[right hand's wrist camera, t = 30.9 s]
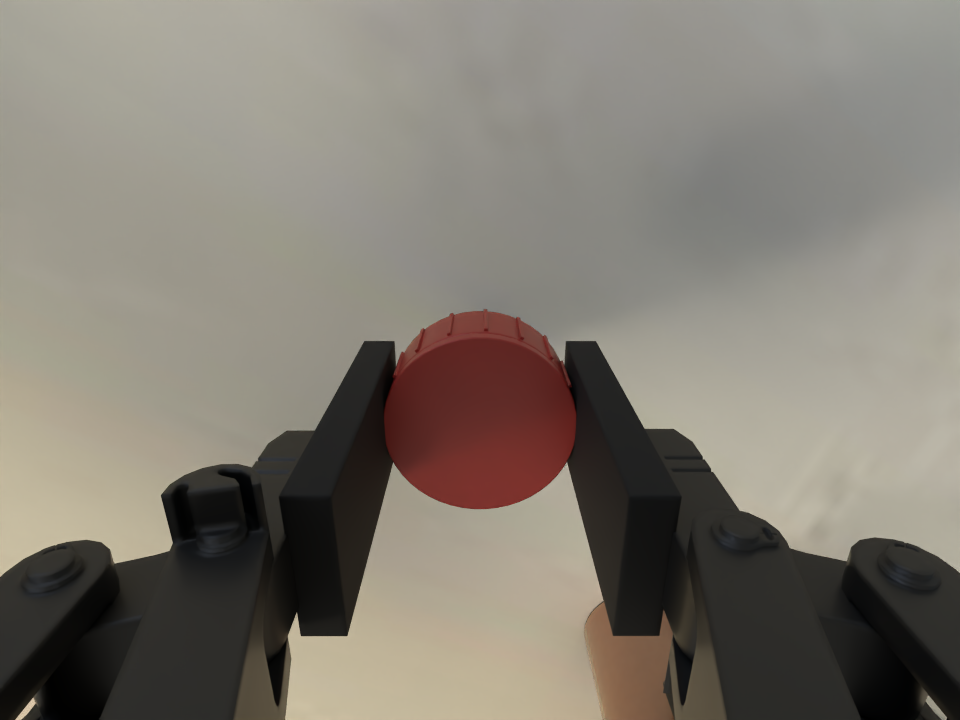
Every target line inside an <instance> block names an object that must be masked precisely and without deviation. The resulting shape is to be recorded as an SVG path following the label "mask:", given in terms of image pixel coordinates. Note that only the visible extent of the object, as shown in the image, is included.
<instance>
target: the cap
mask: <svg viewBox="0 0 960 720" xmlns="http://www.w3.org/2000/svg"><path fill="white" fill-rule="evenodd" d="M393 378H394V379H393V382H392V385H391V388H390V390H389V393H388V396H387V399H386V403H385V407H384V425H385V439H386V447H387V449H388V452H389V454H390V457H391V458H392V460H393V462H394V464H395V466H396V467H397V468H398V470H399V471H400V472H401V474H402V475H403V476H404V477H405V478H406V479H407V480H408V481H409V482H410V483H411V484H412V485H413V486H415V487H416V488H417V489H418V490H420V491H421V492H423V493H424V494H426V495H428V496H429V497H431V498H433V499H436V500H438V501H440V502H443V503H446V504H449V505H452V506H457V507H461V508H469V509H491V508H499V507H503V506H508V505H511V504H514V503H517V502H520V501H522V500H524V499H527V498H529V497H531V496H532V495H534V494H536V493H537V492H539V491H540V490H542V489H543V488H544V487H545V486H547V485H548V484H549V483H550V482H551V481H552V480H553V479H554V478H555V477H556V476H557V475H558V474H559V472H560V471H561V470H562V468H563V467H564V466H565V464H566V462H567V460H568V458H569V457H570V454H571V452H572V449H573V446H574V442H575V431H576V413H577V412H576V407H575V403H574V399H573V396H572V393H571V391H570V388H571V387H572V385H571V383H570V380H569V377H568V374H567V372H566V369H565V366H564V363H563V361H560V360H559V358H558V356H557V354H556V352H555V351H554V349H553V348H552V346H551V345H550V344H549V342H548V339H547V337H546V336H545V335H544V336H542V335H541V334H540V333H539V332H538V331H536V330H535V329H534V328H532V327H531V326H530V325H528V324H526V323H524V322H523V321H521V320H520V318H519V317H517V318H514V317H511V316H508V315H504V314H501V313H496V312H488V311H487V309H484V311H472V312H464V313H459V314H456V315H454V314H453V313H451V314H450V316H449V317H446V318H444V319H441V320H439V321H437V322H436V323H434V324H432V325H430V326H429V327H428V328H426V329H424V328H423V329H421V331H420V334H419V335H418V336H417V337H416V338H415V339H414V340H413V341H412V342H411V344H410V345H409V346H408V348H407V349H406V351H405V352H402V353H401V355H400V357H399V360H398V363H397V366H396V368H395V371H394V374H393Z"/></svg>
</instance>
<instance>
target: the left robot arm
mask: <svg viewBox="0 0 960 720" xmlns="http://www.w3.org/2000/svg"><path fill="white" fill-rule="evenodd" d="M664 683H665V681H664V682H663V687H664ZM666 696H667V699H668V702H669V705H670V708H671V711H672V714H673V717H674V720H675V713H674V703H673V694H672V688H671V693H670V694H666Z"/></svg>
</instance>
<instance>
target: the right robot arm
mask: <svg viewBox="0 0 960 720" xmlns="http://www.w3.org/2000/svg"><path fill="white" fill-rule="evenodd" d="M395 368H396V360H395V343H394V341H364V343H363V345H362V347H361V348H360V350H359V352H358V354H357V356H356V358H355V359H354V361H353V363H352V365H351V367H350V368H349V370H348V372H347V374H346V376H345V377H344V379H343V381H342V383H341V385H340V386H339V388H338V390H337V392H336V394H335V395H334V397H333V399H332V401H331V403H330V404H329V406H328V408H327V410H326V412H325V414H324V415H323V417H322V419H321V421H320V423H319V424H318V426H317V428H316V430H315V431H286V432H285V433H283V434H282V435H280V436H279V437H277V438H276V439H274V440H273V441H271V442H270V443H268V445H267V446H266V448H265V449H264V451H263V452H262V454H261V455H260V457H259V458H258V461H256V462H255V464H254V465H253V467H252V468H251V467H247V466H243V465H239V464H221V465H216V466H211V467H206V468H202V469H199V470H196V471H194V472H191V473H189V474H186V475H184V476H183V477H181V478H179V479H178V480H176V481H175V482H173V483H172V484H170V485H169V486H168V488H167V489H166V490H165V491H164V492H163V493H162V495H161V498H162V502H163V506H164V509H165V513H166V517H167V521H168V525H169V529H170V533H171V537H172V541H173V544H172V547H171V549H170V551H168V552H165V553H161V554H158V555H154V556H149V557H144V558H140V559H135V560H130V561H125V562H121V563H116V564H114V562H113V558H112V555H111V552H110V549H109V548H107V547H106V546H105V545H104V544H103V543H101V542H96V541H90V540H81V541H72V542H66V543H62V544H57V545H56V546H55V545H54V546H51V547H48V548H45V549H43V550H41V551H39V552H37V553H35V554H33V555H31V556H29V557H27V558H25V559H23V560H22V561H20V562H19V563H18V564H16V565H15V566H14V567H12V568H11V569H9V570H8V571H7V572H5V573H4V574H3V575H2V576H1V577H0V720H15V719H16V718H17V717H18V715H19V714H20V713H21V712H22V710H23V709H24V708H25V707H26V706H27V704H28V703H29V702H30V701H31V699H32V698H33V697H34V700H35V702H36V704H35V705H34V707H33V708H32V709H31V710H30V712H29V713H28V714H27V715H26V716H25V717H24V718H23V719H22V720H285V715H286V705H287V695H288V685H289V675H290V665H291V654H290V648H289V642H288V634H289V631H290V628H291V626H292V623H293V621H294V618H295V615H296V613H297V614H298V621H299V627H300V633H301V636H347V635H348V632H349V628H350V624H351V620H352V616H353V613H354V609H355V605H356V601H357V597H358V594H359V590H360V586H361V582H362V578H363V575H364V571H365V567H366V563H367V559H368V556H369V552H370V548H371V544H372V540H373V537H374V533H375V529H376V525H377V521H378V518H379V514H380V510H381V506H382V502H383V499H384V495H385V491H386V487H387V483H388V480H389V476H390V472H391V468H392V464H393V460H392V458H391V457H390V454H389V452H388V449H387V447H386V439H385V425H384V407H385V403H386V399H387V396H388V393H389V390H390V388H391V385H392V382H393V379H394V378H393V374H394V371H395ZM565 369H566V372H567V374H568V377H569V380H570V383H571V385H572V387H571V388H570V391H571V393H572V396H573V399H574V403H575V407H576V412H577V413H576V431H575V442H574V446H573V449H572V452H571V454H570V457H569V458H568V460H567V463H568V467H569V471H570V474H571V478H572V482H573V486H574V490H575V493H576V497H577V501H578V505H579V509H580V512H581V516H582V520H583V524H584V528H585V531H586V535H587V539H588V543H589V547H590V550H591V554H592V558H593V562H594V566H595V569H596V573H597V577H598V581H599V585H600V588H601V592H602V596H603V600H604V604H605V607H606V611H607V615H608V619H609V622H610V626H611V630H612V634H613V636H660V629H661V623H662V617H663V611H665V614H666V617H667V619H668V622H669V625H670V627H671V630H672V632H673V636H672V642H671V648H670V653H669V659H668V665H667V671H666V677H665V683H664V689H663V693H665V694H670V693H671V688H672V694H673V703H674V713H675V720H941V719H940V718H939V717H938V716H937V715H936V714H935V713H934V712H933V710H932V709H931V708H930V707H929V705H928V704H927V703H926V702H925V701H926V699H927V696H928V695H929V696H930V697H931V698H932V700H933V701H934V702H935V703H936V705H937V706H938V707H939V708H940V709H941V711H942V712H943V713H944V714H945V716H946V717H947V720H960V573H959V572H958V571H957V570H956V569H954V568H953V567H951V566H950V565H949V564H947V563H946V562H944V561H943V560H942V559H940V558H939V557H937V556H935V555H933V554H931V553H929V552H927V551H925V550H923V549H921V548H919V547H917V546H915V545H912V544H909V543H904V542H902V541H897V540H893V539H883V538H869V539H863V540H859V541H858V542H857V543H856V544H854V545H853V546H852V547H851V550H850V553H849V557H848V560H847V562H846V561H842V560H837V559H832V558H827V557H823V556H818V555H813V554H808V553H804V552H801V551H797V550H793V549H790V548H789V546H788V543H787V542H786V540H785V539H784V537H783V536H782V535H781V533H780V532H779V531H778V530H777V529H776V528H774V527H773V526H772V525H770V524H769V523H768V522H766V521H765V520H763V519H761V518H758V517H756V516H754V515H752V514H749V513H747V512H742V511H739V509H738V508H737V506H736V505H735V503H734V502H733V500H732V499H731V497H730V496H729V494H728V493H727V492H726V490H725V489H724V487H723V486H722V484H721V483H720V481H719V480H718V478H717V477H716V476H715V474H714V473H713V472H711V468H710V467H709V465H708V464H707V462H706V461H705V460H703V458H702V455H701V454H700V452H699V451H698V449H697V448H696V446H695V445H694V443H693V442H692V441H690V440H689V439H688V438H686V437H685V436H683V435H682V434H680V433H679V432H677V431H676V430H674V429H644V427H643V425H642V424H641V422H640V420H639V418H638V416H637V415H636V413H635V411H634V409H633V407H632V406H631V404H630V402H629V400H628V398H627V397H626V395H625V393H624V391H623V389H622V387H621V386H620V384H619V382H618V380H617V378H616V377H615V375H614V373H613V371H612V369H611V368H610V366H609V364H608V362H607V360H606V359H605V357H604V355H603V353H602V351H601V350H600V348H599V346H598V344H597V342H596V341H566V350H565Z"/></svg>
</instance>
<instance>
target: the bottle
mask: <svg viewBox="0 0 960 720" xmlns="http://www.w3.org/2000/svg"><path fill="white" fill-rule="evenodd" d="M584 636H585V641H586V645H587V650H588V655H589V659H590V664H591V668H592V673H593V677H594V682H595V687H596V691H597V696H598V700H599V705H600V709H601V714H602V718H603V720H674V717H673V714H672V711H671V708H670V705H669V702H668V699H667V696H666V694H665V693H663V689H664V687H663V682H664V681H665V677H666V671H667V665H668V659H669V653H670V648H671V642H672V636H673V632H672V630H671V627H670V625H669V622H668V619H667V617H666V614H665V611H663V617H662V623H661V629H660V636H613V634H612V630H611V626H610V622H609V619H608V615H607V611H606V607H605V604H604V602H603V603H601V604H600V605H599V606H598V607H596V608H595V609H594V611H593V612H592V613H591V614H590V616H589V617H588V619H587V622H586V625H585V630H584Z"/></svg>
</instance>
